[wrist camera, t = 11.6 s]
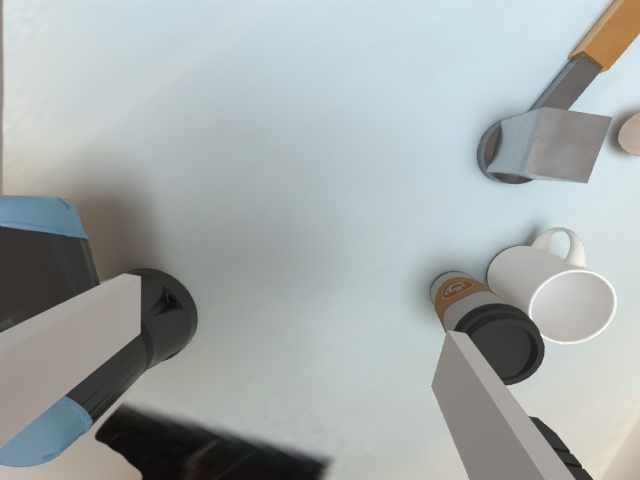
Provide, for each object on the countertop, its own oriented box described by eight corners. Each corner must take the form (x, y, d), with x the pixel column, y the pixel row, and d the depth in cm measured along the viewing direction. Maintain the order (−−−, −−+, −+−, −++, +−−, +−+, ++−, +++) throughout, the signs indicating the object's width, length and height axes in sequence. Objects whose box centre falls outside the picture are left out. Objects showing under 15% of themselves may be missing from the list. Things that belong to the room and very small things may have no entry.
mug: (571, 227, 40) (649, 249, 29) (535, 307, 43) (595, 353, 32) (506, 213, 40) (561, 229, 30) (476, 294, 43) (516, 334, 33)
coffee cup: (466, 253, 42) (529, 298, 27) (492, 301, 43) (565, 369, 29) (412, 280, 44) (444, 337, 29) (438, 326, 45) (481, 402, 30)
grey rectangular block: (486, 171, 37) (523, 172, 29) (502, 120, 35) (545, 106, 28) (536, 179, 37) (587, 183, 29) (554, 128, 35) (612, 117, 27)
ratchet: (463, 159, 39) (486, 158, 33) (607, -22, 33) (667, -66, 27) (512, 195, 40) (543, 200, 33) (661, 22, 34) (733, -11, 27)
